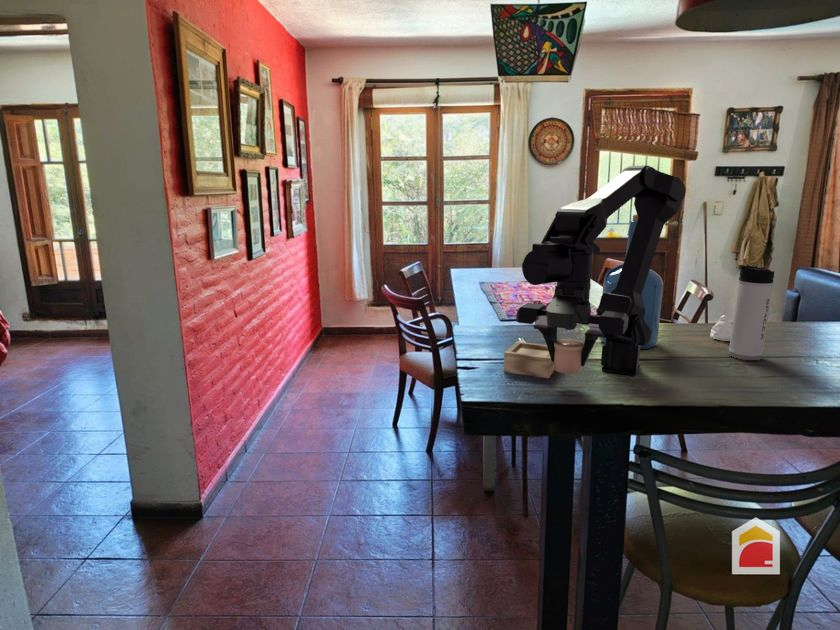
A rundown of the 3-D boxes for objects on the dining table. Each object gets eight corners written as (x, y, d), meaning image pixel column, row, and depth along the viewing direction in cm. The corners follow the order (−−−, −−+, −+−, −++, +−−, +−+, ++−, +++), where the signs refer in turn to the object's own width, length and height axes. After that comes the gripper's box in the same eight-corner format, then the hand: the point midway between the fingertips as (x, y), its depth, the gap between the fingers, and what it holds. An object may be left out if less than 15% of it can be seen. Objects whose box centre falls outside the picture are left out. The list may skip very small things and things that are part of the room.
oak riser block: (558, 366, 111) (559, 346, 110) (548, 379, 103) (549, 358, 102) (516, 360, 115) (517, 341, 114) (503, 372, 107) (504, 352, 106)
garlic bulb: (709, 312, 132) (734, 313, 131) (706, 335, 134) (730, 337, 132) (716, 317, 127) (742, 318, 126) (713, 341, 128) (738, 343, 127)
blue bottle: (630, 333, 135) (641, 213, 129) (670, 347, 123) (685, 215, 117) (585, 338, 131) (594, 214, 124) (623, 353, 119) (635, 216, 112)
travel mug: (722, 351, 120) (734, 263, 116) (754, 353, 119) (768, 264, 114) (732, 360, 114) (745, 267, 110) (766, 362, 113) (781, 268, 108)
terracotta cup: (585, 367, 99) (587, 341, 98) (579, 376, 94) (581, 349, 93) (557, 363, 102) (558, 337, 100) (548, 371, 97) (550, 344, 96)
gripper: (507, 281, 92) (504, 368, 95) (621, 291, 83) (613, 386, 86) (527, 273, 101) (524, 351, 105) (632, 281, 92) (624, 367, 96)
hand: (568, 363), depth 98 cm, fingers closed on terracotta cup, 5 cm apart
